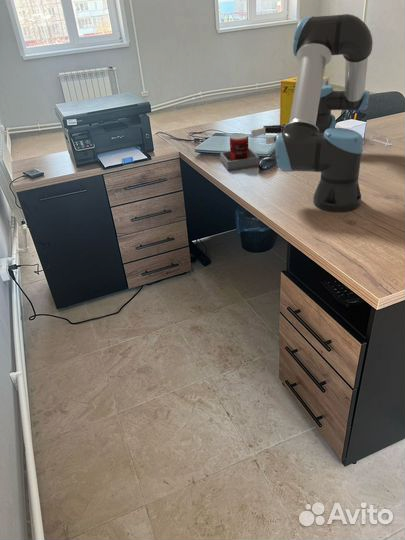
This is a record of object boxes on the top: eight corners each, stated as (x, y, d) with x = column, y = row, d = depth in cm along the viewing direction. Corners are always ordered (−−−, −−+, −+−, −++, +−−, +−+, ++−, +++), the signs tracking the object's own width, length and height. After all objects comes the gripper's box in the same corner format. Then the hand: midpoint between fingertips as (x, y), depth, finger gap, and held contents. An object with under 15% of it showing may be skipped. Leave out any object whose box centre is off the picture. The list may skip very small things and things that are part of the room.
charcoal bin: (259, 166, 168) (259, 157, 166) (228, 171, 166) (227, 162, 164) (250, 157, 179) (249, 148, 177) (220, 161, 178) (220, 152, 175)
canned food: (238, 157, 177) (237, 132, 171) (252, 160, 172) (252, 134, 166) (226, 162, 173) (225, 136, 167) (240, 166, 168) (240, 139, 162)
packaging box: (305, 138, 194) (308, 83, 181) (279, 134, 205) (280, 81, 191) (325, 130, 203) (329, 77, 189) (299, 126, 213) (301, 75, 199)
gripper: (318, 143, 167) (273, 153, 162) (287, 130, 187) (246, 139, 182) (319, 125, 163) (273, 134, 158) (287, 114, 183) (245, 122, 178)
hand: (258, 136), depth 170 cm, fingers open, 13 cm apart
